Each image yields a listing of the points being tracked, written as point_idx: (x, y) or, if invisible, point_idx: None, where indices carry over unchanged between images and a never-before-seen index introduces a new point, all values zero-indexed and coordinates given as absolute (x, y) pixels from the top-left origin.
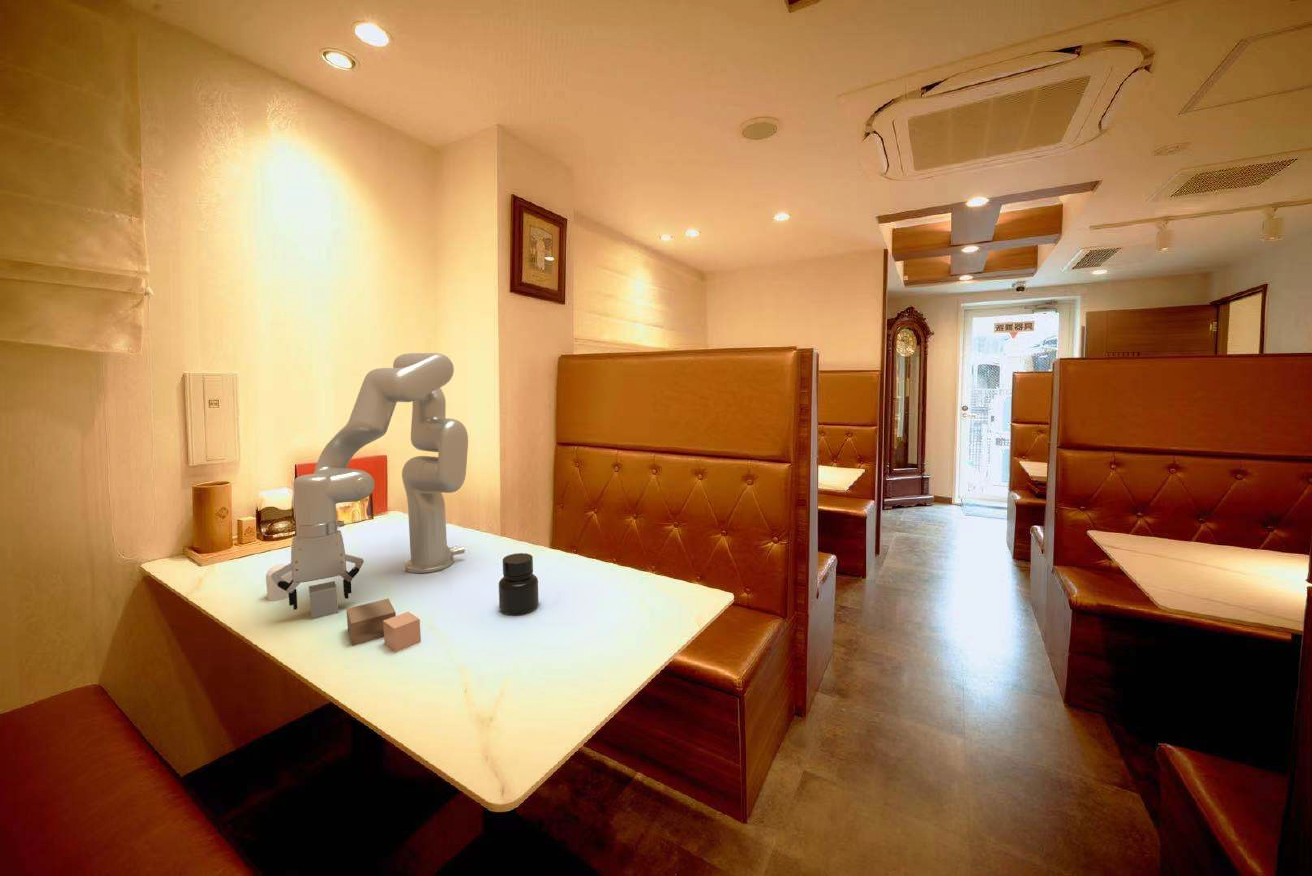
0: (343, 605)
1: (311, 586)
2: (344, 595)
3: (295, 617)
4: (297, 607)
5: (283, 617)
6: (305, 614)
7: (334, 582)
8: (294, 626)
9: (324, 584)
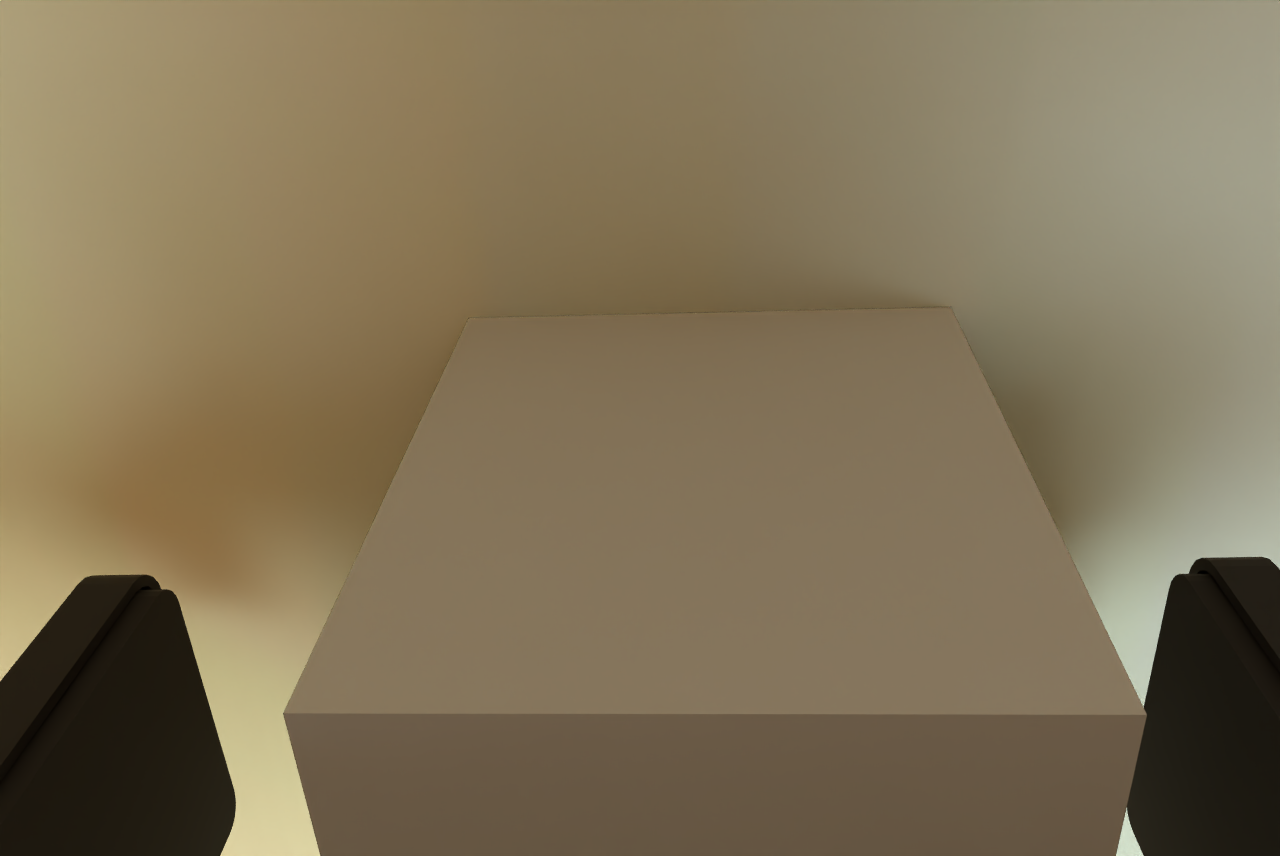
0: (1063, 411)
1: (376, 779)
2: (1157, 753)
3: (237, 464)
4: (225, 813)
5: (14, 343)
6: (390, 432)
7: (1102, 830)
8: (297, 769)
9: (778, 836)
